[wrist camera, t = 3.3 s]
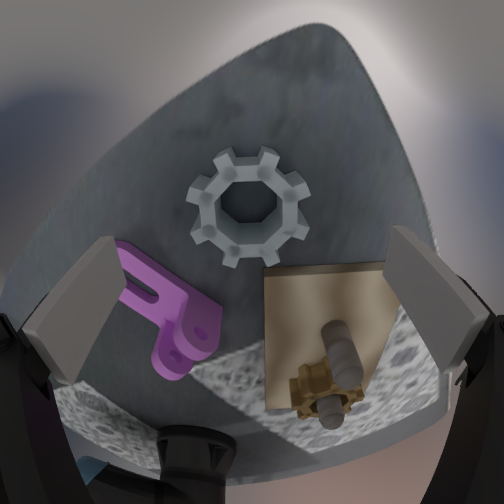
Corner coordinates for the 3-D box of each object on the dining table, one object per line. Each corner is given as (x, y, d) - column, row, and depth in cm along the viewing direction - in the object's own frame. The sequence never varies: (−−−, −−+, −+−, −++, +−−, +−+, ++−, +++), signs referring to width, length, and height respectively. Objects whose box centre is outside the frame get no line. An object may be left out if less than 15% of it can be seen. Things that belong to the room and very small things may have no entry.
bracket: (223, 306, 27) (217, 360, 21) (192, 335, 29) (182, 386, 23) (111, 228, 23) (73, 267, 17) (91, 268, 25) (58, 310, 18)
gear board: (265, 400, 35) (267, 455, 27) (263, 267, 25) (269, 339, 17) (359, 390, 35) (374, 439, 27) (403, 260, 24) (449, 316, 17)
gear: (203, 245, 23) (195, 270, 20) (192, 149, 20) (180, 157, 16) (298, 241, 23) (307, 265, 20) (300, 144, 20) (311, 151, 16)
